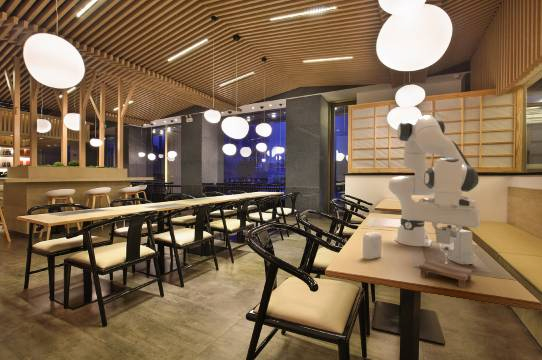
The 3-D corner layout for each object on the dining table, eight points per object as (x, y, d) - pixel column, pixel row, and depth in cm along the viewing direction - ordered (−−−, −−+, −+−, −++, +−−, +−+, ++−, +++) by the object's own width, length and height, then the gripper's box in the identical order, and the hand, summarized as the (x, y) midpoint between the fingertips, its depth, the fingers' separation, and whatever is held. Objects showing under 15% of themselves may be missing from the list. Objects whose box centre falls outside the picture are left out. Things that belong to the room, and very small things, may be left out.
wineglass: (435, 263, 120) (436, 237, 120) (444, 262, 123) (444, 236, 122) (448, 267, 115) (449, 240, 115) (457, 266, 117) (457, 239, 117)
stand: (428, 269, 113) (428, 259, 113) (472, 279, 102) (472, 269, 102) (418, 276, 105) (419, 266, 105) (465, 288, 94) (465, 277, 94)
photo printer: (374, 254, 133) (375, 229, 133) (382, 257, 129) (382, 231, 129) (361, 258, 127) (361, 232, 127) (368, 260, 124) (369, 233, 123)
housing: (436, 242, 102) (436, 226, 101) (443, 238, 108) (443, 223, 108) (449, 244, 98) (450, 228, 98) (456, 240, 105) (456, 225, 105)
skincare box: (473, 264, 120) (474, 231, 119) (460, 264, 119) (461, 231, 119) (459, 258, 128) (460, 227, 128) (446, 258, 128) (447, 227, 127)
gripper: (415, 198, 108) (414, 232, 109) (478, 202, 93) (477, 242, 94) (420, 197, 113) (419, 230, 113) (482, 201, 98) (480, 239, 98)
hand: (446, 235), depth 103 cm, fingers closed on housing, 4 cm apart
